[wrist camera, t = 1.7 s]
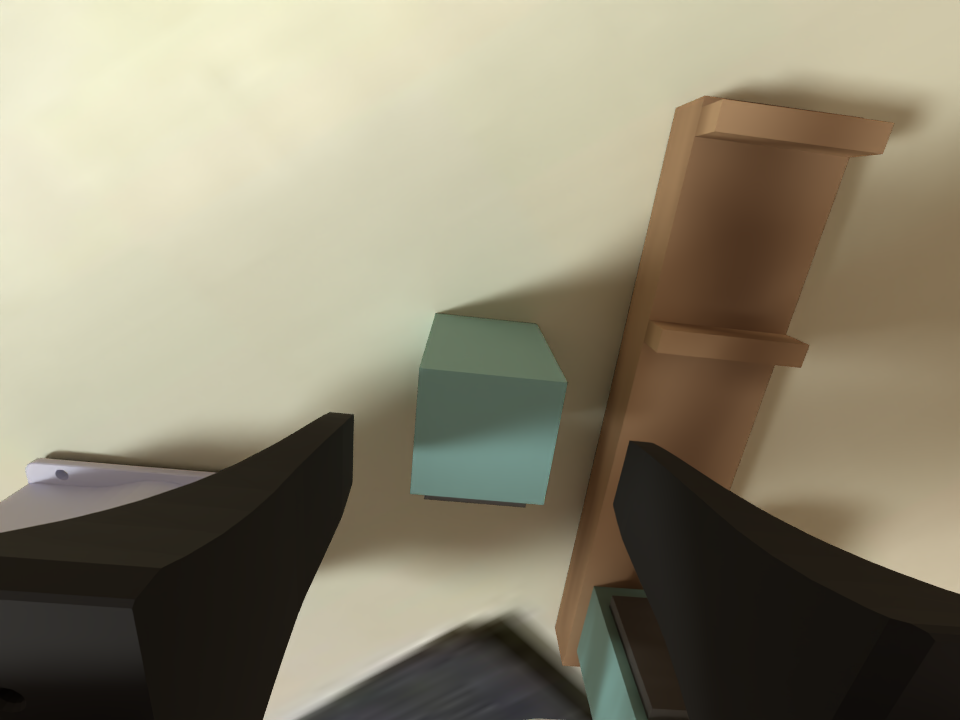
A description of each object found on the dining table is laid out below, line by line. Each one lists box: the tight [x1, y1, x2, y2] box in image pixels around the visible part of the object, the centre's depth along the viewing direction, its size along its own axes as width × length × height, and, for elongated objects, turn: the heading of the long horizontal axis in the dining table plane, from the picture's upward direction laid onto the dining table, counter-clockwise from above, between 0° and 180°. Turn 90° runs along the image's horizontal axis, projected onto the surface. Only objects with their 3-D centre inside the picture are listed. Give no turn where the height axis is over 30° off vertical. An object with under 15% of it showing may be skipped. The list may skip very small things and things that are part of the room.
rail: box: [555, 96, 894, 720], centre depth 16 cm, size 5×24×8 cm, turn 173°
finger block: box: [410, 313, 568, 507], centre depth 16 cm, size 4×5×6 cm
